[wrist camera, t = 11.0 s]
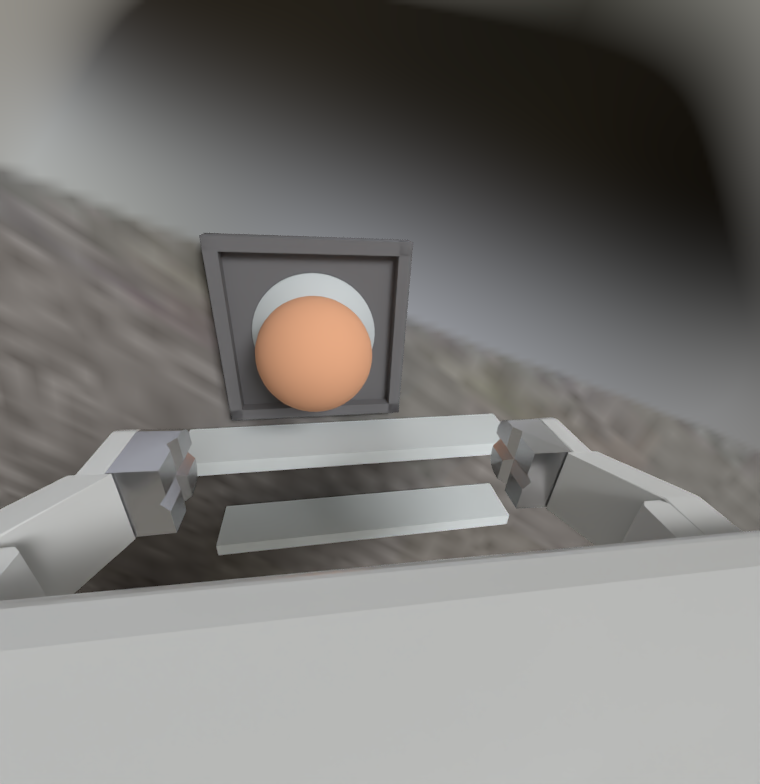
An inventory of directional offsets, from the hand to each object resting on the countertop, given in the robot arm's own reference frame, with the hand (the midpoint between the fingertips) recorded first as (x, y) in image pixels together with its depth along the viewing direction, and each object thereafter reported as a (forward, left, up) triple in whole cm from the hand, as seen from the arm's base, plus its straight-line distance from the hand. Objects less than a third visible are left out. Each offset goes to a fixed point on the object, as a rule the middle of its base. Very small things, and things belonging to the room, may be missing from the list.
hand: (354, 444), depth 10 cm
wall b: (-1, +6, -10) cm, 12 cm away
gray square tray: (+1, 0, -10) cm, 10 cm away
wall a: (-2, +12, -10) cm, 16 cm away
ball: (+1, 0, -10) cm, 10 cm away
